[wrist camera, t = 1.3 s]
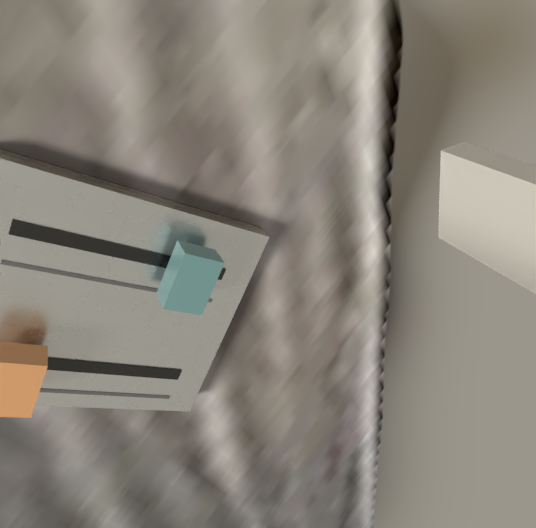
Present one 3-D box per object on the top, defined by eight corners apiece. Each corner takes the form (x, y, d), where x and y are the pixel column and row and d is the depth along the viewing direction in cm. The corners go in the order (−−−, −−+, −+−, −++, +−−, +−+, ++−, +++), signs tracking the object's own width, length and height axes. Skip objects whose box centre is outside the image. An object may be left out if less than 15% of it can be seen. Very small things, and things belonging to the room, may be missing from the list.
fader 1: (-15, 385, 32) (-20, 416, 29) (-1, 334, 30) (-5, 362, 28) (31, 388, 33) (31, 417, 31) (47, 339, 32) (47, 366, 30)
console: (-74, 381, 32) (-81, 402, 30) (-19, 143, 27) (-23, 152, 25) (184, 396, 43) (190, 412, 41) (260, 227, 37) (270, 237, 36)
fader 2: (154, 287, 33) (162, 309, 31) (174, 235, 32) (185, 253, 30) (191, 294, 35) (201, 315, 33) (211, 244, 34) (224, 262, 31)
